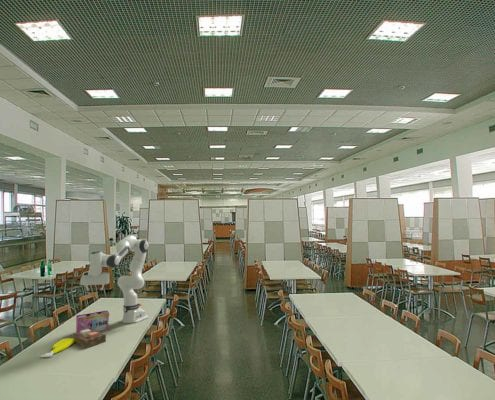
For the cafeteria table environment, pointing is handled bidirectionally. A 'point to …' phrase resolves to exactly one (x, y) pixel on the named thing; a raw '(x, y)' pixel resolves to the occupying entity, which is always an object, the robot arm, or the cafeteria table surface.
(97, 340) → the key panel
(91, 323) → the gum box
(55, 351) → the spray bottle
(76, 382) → the cafeteria table surface
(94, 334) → the brick key
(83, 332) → the white key
